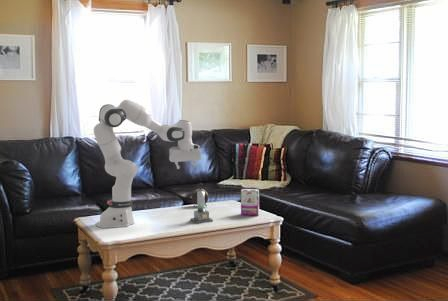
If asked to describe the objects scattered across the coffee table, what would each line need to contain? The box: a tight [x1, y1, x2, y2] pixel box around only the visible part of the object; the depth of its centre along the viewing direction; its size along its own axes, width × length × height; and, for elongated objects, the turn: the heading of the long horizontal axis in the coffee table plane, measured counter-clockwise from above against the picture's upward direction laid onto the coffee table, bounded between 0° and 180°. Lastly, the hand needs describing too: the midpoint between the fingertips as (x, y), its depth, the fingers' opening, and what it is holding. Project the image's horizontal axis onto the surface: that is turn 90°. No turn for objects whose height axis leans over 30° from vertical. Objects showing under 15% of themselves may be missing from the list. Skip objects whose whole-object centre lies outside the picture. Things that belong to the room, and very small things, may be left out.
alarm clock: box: [191, 182, 210, 207], centre depth 377 cm, size 11×5×16 cm, turn 84°
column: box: [196, 191, 206, 212], centre depth 336 cm, size 5×5×12 cm
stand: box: [190, 209, 214, 224], centre depth 337 cm, size 11×9×6 cm
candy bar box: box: [240, 188, 260, 217], centre depth 352 cm, size 11×5×16 cm, turn 76°
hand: (185, 168), depth 343 cm, fingers open, 8 cm apart
